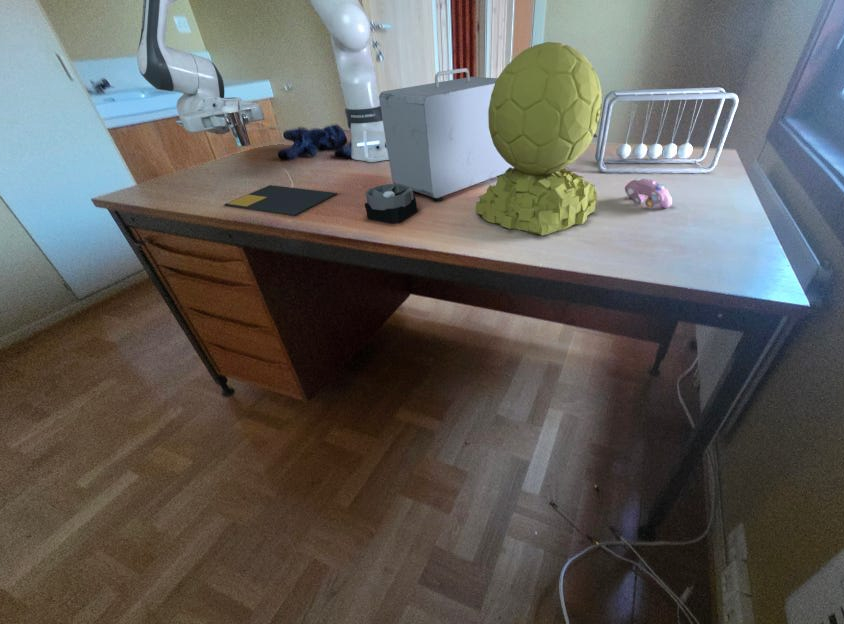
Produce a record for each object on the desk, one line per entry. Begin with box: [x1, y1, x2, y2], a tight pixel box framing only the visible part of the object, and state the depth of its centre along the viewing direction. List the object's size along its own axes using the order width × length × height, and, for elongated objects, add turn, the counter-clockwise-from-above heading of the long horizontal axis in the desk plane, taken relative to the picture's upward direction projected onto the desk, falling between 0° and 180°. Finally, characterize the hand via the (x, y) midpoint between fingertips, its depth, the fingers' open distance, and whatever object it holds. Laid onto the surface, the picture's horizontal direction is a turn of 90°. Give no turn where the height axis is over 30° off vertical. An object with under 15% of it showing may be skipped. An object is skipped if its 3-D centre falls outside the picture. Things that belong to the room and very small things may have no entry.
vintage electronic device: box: [379, 67, 514, 202], centre depth 99 cm, size 32×18×25 cm, turn 134°
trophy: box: [475, 41, 603, 236], centre depth 77 cm, size 22×22×30 cm
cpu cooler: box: [364, 183, 418, 225], centre depth 89 cm, size 10×6×10 cm
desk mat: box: [224, 184, 338, 217], centre depth 102 cm, size 24×16×1 cm, turn 66°
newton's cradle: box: [594, 86, 740, 174], centre depth 103 cm, size 30×10×18 cm, turn 80°
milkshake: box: [222, 101, 251, 148], centre depth 101 cm, size 5×5×10 cm
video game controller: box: [624, 177, 673, 209], centre depth 86 cm, size 10×5×7 cm, turn 36°
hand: (237, 120), depth 100 cm, fingers closed on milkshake, 4 cm apart
